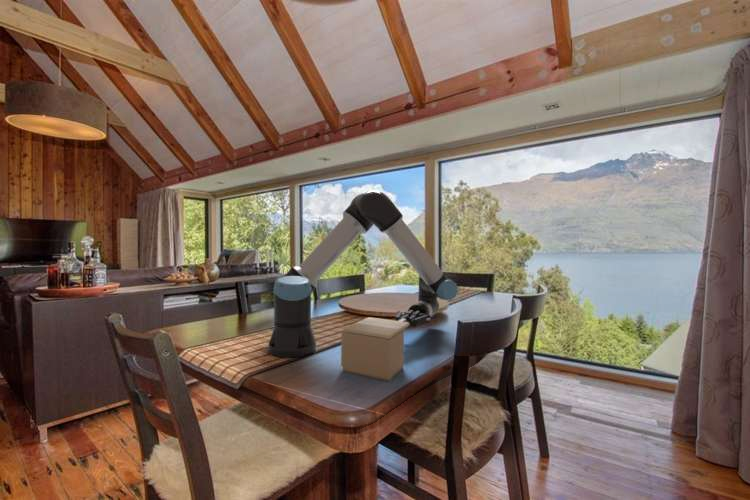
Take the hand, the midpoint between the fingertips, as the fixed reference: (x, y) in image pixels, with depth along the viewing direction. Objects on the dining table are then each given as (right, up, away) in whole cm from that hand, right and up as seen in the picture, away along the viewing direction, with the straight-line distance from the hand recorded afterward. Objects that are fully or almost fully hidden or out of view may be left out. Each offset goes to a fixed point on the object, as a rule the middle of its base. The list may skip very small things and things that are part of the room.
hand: (397, 327), depth 110 cm
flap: (-6, +2, -12) cm, 14 cm away
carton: (-8, -9, -14) cm, 18 cm away
